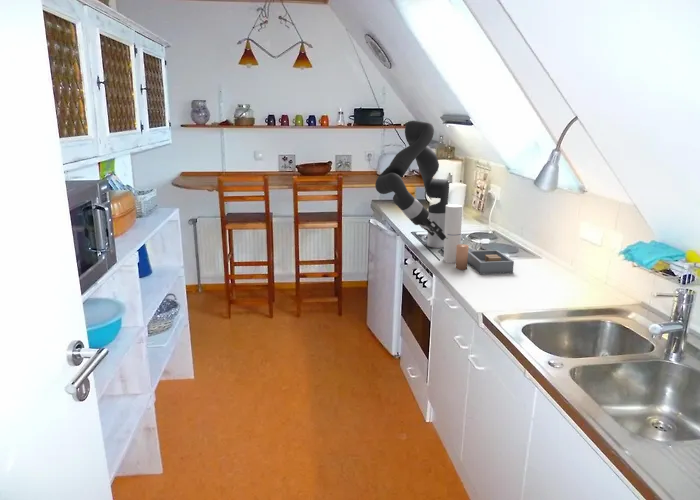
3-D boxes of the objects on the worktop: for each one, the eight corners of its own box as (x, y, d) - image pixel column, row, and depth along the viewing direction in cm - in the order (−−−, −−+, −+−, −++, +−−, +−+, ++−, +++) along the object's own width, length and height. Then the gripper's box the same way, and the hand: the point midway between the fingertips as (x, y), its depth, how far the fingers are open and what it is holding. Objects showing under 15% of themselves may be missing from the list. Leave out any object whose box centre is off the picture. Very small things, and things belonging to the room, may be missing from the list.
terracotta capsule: (453, 266, 213) (455, 244, 211) (465, 266, 214) (466, 244, 211) (457, 270, 209) (458, 247, 206) (468, 269, 209) (470, 247, 206)
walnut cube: (484, 266, 210) (485, 254, 209) (495, 265, 211) (496, 254, 209) (488, 269, 206) (489, 258, 204) (500, 269, 206) (501, 257, 205)
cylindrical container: (455, 263, 218) (457, 207, 211) (440, 261, 222) (442, 206, 215) (462, 259, 223) (465, 205, 217) (447, 257, 227) (450, 203, 221)
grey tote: (466, 261, 220) (466, 250, 219) (496, 260, 221) (497, 249, 220) (479, 274, 203) (480, 262, 202) (512, 273, 204) (513, 261, 203)
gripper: (429, 206, 190) (454, 233, 197) (412, 201, 203) (436, 226, 210) (416, 221, 190) (441, 247, 197) (400, 214, 203) (424, 239, 210)
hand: (438, 236), depth 203 cm, fingers open, 8 cm apart
